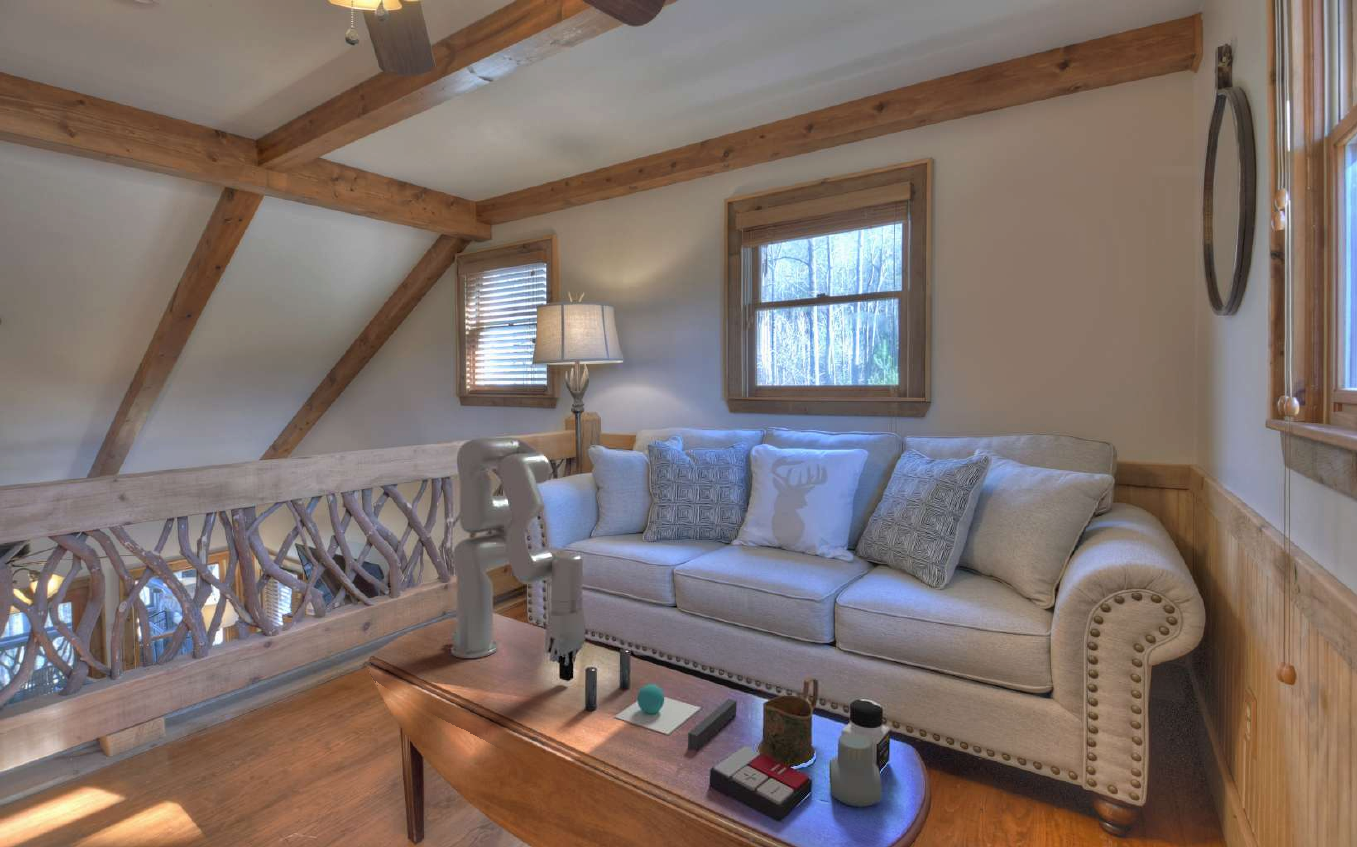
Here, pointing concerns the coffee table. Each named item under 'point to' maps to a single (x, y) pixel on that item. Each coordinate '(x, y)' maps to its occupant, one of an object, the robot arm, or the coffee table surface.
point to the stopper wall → (711, 724)
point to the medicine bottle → (870, 728)
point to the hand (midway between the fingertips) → (566, 678)
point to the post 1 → (590, 689)
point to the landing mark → (659, 716)
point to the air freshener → (855, 772)
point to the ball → (650, 699)
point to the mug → (789, 727)
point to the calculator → (760, 783)
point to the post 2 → (625, 669)
